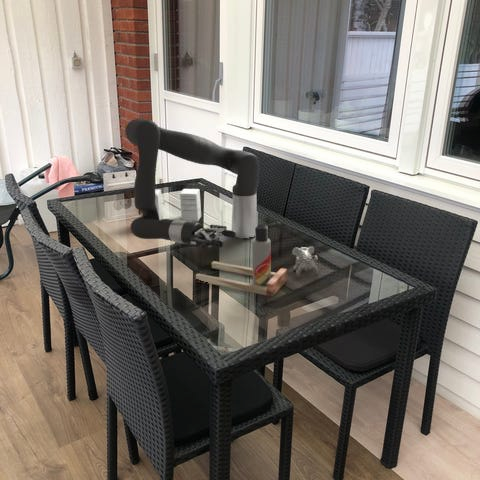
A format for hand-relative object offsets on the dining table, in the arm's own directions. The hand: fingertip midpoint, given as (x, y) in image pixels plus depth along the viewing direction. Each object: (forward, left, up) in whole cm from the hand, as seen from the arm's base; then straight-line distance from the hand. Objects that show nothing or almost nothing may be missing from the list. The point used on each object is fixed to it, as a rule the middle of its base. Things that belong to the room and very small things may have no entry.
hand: (229, 239), depth 161 cm
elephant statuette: (-16, +19, -14) cm, 29 cm away
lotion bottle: (0, +11, -14) cm, 18 cm away
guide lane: (0, +4, -14) cm, 14 cm away
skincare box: (-32, -52, -14) cm, 63 cm away
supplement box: (-45, -42, -14) cm, 63 cm away
